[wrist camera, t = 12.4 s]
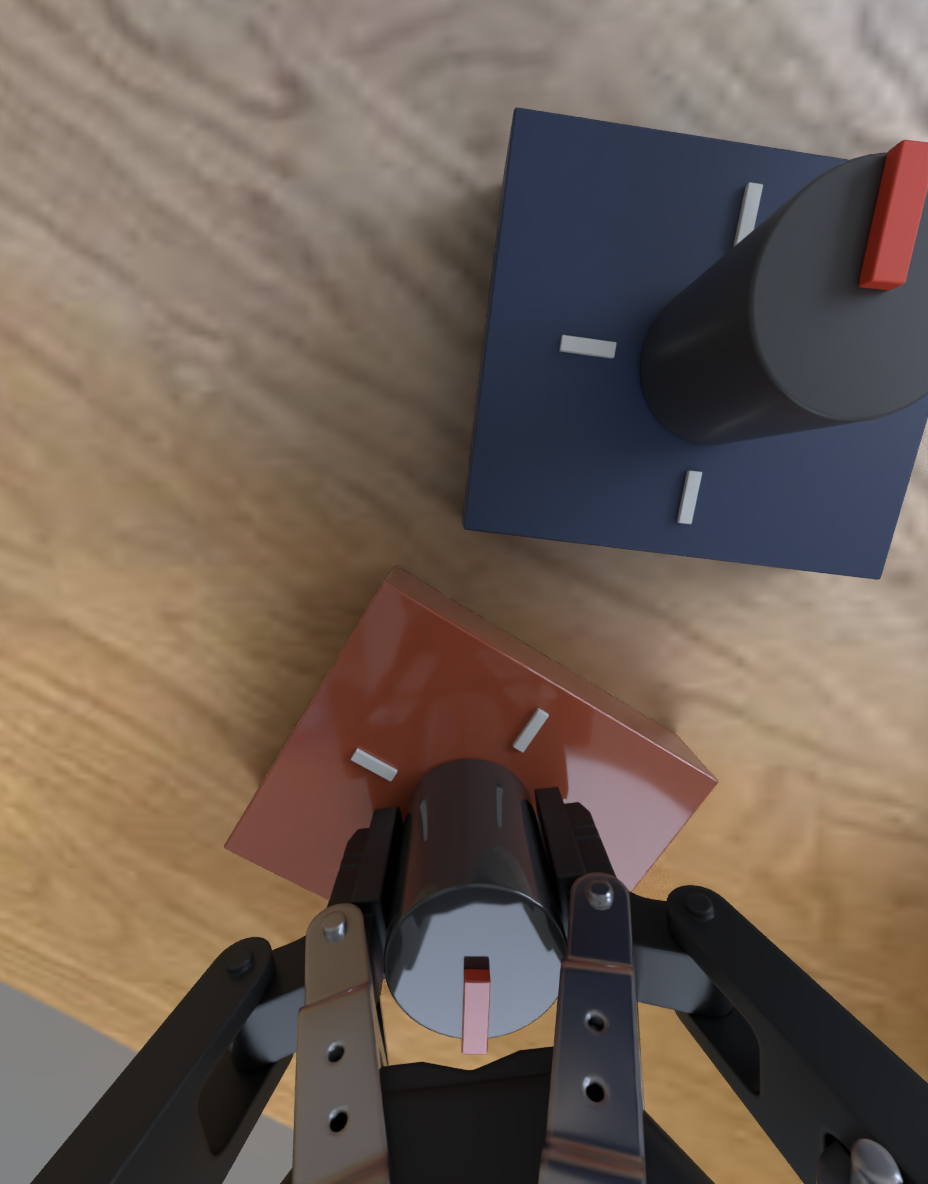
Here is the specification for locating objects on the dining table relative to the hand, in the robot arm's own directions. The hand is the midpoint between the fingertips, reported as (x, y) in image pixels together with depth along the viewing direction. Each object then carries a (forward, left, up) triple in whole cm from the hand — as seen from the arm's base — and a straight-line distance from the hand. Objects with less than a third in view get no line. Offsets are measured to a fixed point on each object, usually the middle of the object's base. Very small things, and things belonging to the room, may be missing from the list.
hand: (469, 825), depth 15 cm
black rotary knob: (+1, +14, -1) cm, 14 cm away
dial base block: (0, 0, -4) cm, 4 cm away
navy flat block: (+1, +14, -4) cm, 15 cm away
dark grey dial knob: (0, 0, -1) cm, 1 cm away
